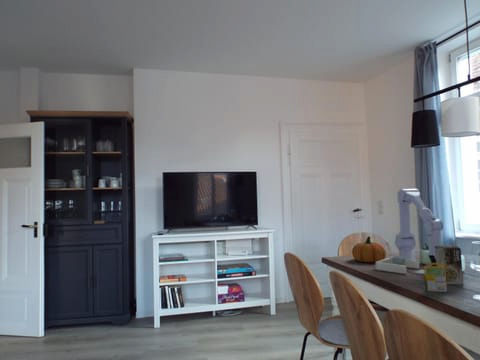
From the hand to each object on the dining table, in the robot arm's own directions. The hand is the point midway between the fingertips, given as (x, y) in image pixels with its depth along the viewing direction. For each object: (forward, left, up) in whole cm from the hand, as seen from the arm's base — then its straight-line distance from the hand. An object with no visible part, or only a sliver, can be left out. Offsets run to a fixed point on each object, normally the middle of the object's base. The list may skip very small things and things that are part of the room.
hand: (436, 271), depth 166 cm
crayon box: (+32, +10, -2) cm, 34 cm away
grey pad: (0, -4, -2) cm, 5 cm away
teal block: (0, -18, -2) cm, 18 cm away
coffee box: (+14, +10, -2) cm, 17 cm away
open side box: (0, -18, -2) cm, 18 cm away
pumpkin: (-12, -41, -2) cm, 43 cm away
